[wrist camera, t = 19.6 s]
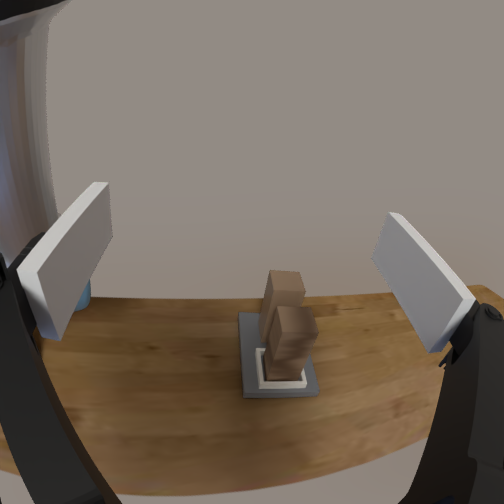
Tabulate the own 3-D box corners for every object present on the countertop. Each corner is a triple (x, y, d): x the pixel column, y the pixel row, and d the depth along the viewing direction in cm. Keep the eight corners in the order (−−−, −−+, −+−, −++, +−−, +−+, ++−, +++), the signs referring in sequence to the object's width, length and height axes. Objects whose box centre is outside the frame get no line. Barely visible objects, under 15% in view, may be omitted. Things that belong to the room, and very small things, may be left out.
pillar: (265, 383, 45) (282, 332, 39) (262, 358, 50) (277, 306, 43) (296, 382, 46) (318, 332, 40) (291, 358, 50) (310, 307, 44)
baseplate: (243, 397, 44) (256, 342, 37) (237, 317, 59) (247, 259, 52) (316, 396, 46) (346, 342, 39) (297, 320, 61) (315, 264, 54)
